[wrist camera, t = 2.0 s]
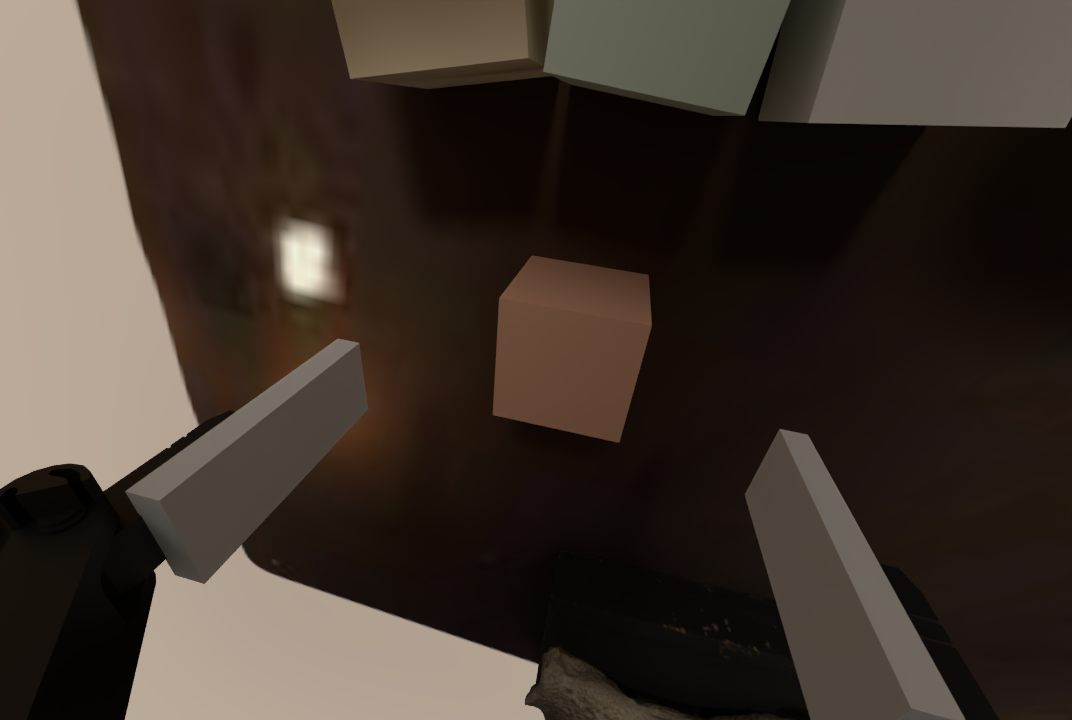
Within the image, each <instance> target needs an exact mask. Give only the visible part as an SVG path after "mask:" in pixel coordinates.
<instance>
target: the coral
mask: <svg viewBox="0 0 1072 720" xmlns="http://www.w3.org/2000/svg"><path fill="white" fill-rule="evenodd" d="M525 705H529V706H535V707H537V708H539V709H540V710H541V711H542V712H543V714H544V717H545V720H811V719H810V716H809V712H808V709H807V706H806V702H805V699H804V695H803V692H802V689H801V685H800V682H799V678H798V675H797V672H796V668H795V665H794V661H793V658H792V655H791V651H790V648H789V644H788V641H787V637H786V634H785V631H784V627H783V624H782V620H781V617H780V614H779V610H778V607H777V603H776V600H772V599H768V598H763V597H757V596H753V595H750V594H746V593H741V592H737V591H733V590H728V589H723V588H719V587H716V586H712V585H707V584H703V583H699V582H694V581H691V580H687V579H681V578H677V577H674V576H669V575H665V574H662V573H657V572H653V571H649V570H644V569H640V568H636V567H630V566H627V565H623V564H619V563H615V562H610V561H606V560H603V559H598V558H594V557H590V556H586V555H580V554H577V553H573V552H569V551H560V552H559V555H558V559H557V564H556V569H555V573H554V579H553V584H552V588H551V593H550V599H549V605H548V611H547V617H546V623H545V630H544V636H543V641H542V648H541V654H540V660H539V666H538V673H537V679H536V684H535V685H533V686H532V687H531V689H530V692H529V693H528V694H527V696H526V699H525Z"/></svg>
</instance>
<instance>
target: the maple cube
mask: <svg viewBox="0 0 1072 720" xmlns="http://www.w3.org/2000/svg"><path fill="white" fill-rule="evenodd" d="M331 1H332V5H333V9H334V13H335V17H336V21H337V25H338V29H339V34H340V38H341V42H342V46H343V50H344V54H345V58H346V62H347V66H348V71H349V75H350V79H356V80H363V81H371V82H378V83H386V84H393V85H401V86H408V87H416V88H423V89H434V88H444V87H453V86H463V85H472V84H482V83H491V82H500V81H510V80H519V79H529V78H538V77H548V76H551V75H549V74H547V73H545V72H543V69H544V63H545V57H546V51H547V44H548V38H549V32H550V26H551V20H552V13H553V7H554V1H555V0H331Z"/></svg>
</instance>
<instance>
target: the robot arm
mask: <svg viewBox="0 0 1072 720" xmlns="http://www.w3.org/2000/svg"><path fill="white" fill-rule="evenodd" d="M367 410H368V404H367V397H366V389H365V382H364V375H363V367H362V360H361V353H360V345H359V343H356V342H351V341H347V340H342V339H337V340H335V341H334V342H333V343H331V344H330V345H328V346H327V347H326V348H324V349H323V350H321V351H320V352H319V353H317V354H316V355H314V356H313V357H312V358H310V359H309V360H307V361H306V362H305V363H303V364H302V365H301V366H299V367H298V368H296V369H295V370H294V371H292V372H291V373H289V374H288V375H287V376H285V377H284V378H282V379H281V380H280V381H278V382H277V383H275V384H274V385H273V386H271V387H270V388H268V389H267V390H266V391H264V392H263V393H261V394H260V395H259V396H257V397H256V398H255V399H253V400H252V401H250V402H249V403H248V404H246V405H245V406H243V407H242V408H241V409H239V410H238V411H236V412H233V411H228V412H226V413H223V414H221V415H219V416H216V417H214V418H212V419H209V420H207V421H205V422H204V423H202V424H201V425H199V426H198V427H197V428H195V429H194V430H192V431H191V432H189V433H188V434H187V436H186V437H182V438H181V439H179V440H178V441H176V442H175V443H173V444H172V445H171V447H170V448H166V449H165V450H163V451H162V452H160V453H159V454H157V455H156V456H154V457H153V458H152V459H150V460H149V461H147V462H146V463H144V464H143V465H141V466H140V467H138V468H137V469H136V470H134V471H133V472H131V473H130V474H128V475H127V476H126V477H124V478H123V479H121V480H120V481H118V482H117V483H115V484H114V485H113V486H111V487H109V488H108V489H107V490H105V491H102V490H101V488H100V486H99V485H98V483H97V481H96V480H95V478H94V477H93V475H92V474H91V472H90V471H89V470H88V469H87V468H86V467H84V466H83V465H77V464H62V465H54V466H51V467H47V468H43V469H40V470H36V471H33V472H31V473H29V474H27V475H24V476H22V477H20V478H18V479H15V480H14V481H12V482H11V483H9V484H7V485H6V486H4V487H3V488H1V489H0V720H125V715H126V711H127V707H128V702H129V698H130V694H131V689H132V685H133V681H134V676H135V672H136V667H137V663H138V659H139V654H140V650H141V646H142V641H143V637H144V632H145V628H146V624H147V620H148V615H149V611H150V606H151V602H152V597H153V593H154V588H155V585H156V574H155V572H154V571H153V570H154V569H156V568H157V567H158V566H159V565H160V564H161V563H162V562H163V561H164V560H165V559H166V560H167V562H168V564H169V565H170V567H171V569H172V571H173V572H174V574H175V575H177V576H180V577H184V578H187V579H190V580H193V581H197V582H200V583H203V584H205V583H206V582H207V581H208V580H209V578H210V577H211V576H212V575H213V574H214V573H215V572H216V571H217V570H218V569H219V568H220V566H222V565H223V563H225V561H226V560H227V559H228V558H229V557H230V556H231V555H232V554H233V553H234V552H235V551H236V550H237V549H238V548H239V547H240V546H241V544H242V543H243V542H244V541H245V540H246V539H247V538H248V537H249V536H250V535H251V534H252V533H253V532H254V531H255V530H256V528H257V527H258V526H259V525H260V524H261V523H262V522H263V521H264V520H265V519H266V518H267V517H268V516H269V515H270V514H271V513H272V511H273V510H274V509H275V508H276V507H277V506H278V505H279V504H280V503H281V502H282V501H283V500H284V499H285V498H286V497H287V496H288V494H289V493H290V492H291V491H292V490H293V489H294V488H295V487H296V486H297V485H298V484H299V483H300V482H301V481H302V480H303V479H304V477H305V476H306V475H307V474H308V473H309V472H310V471H311V470H312V469H313V468H314V467H315V466H316V465H317V464H318V463H319V461H320V460H321V459H322V458H323V457H324V456H325V455H326V454H327V453H328V452H329V451H330V450H331V449H332V448H333V447H334V446H335V444H336V443H337V442H338V441H339V440H340V439H341V438H342V437H343V436H344V435H345V434H346V433H347V432H348V431H349V430H350V429H351V427H352V426H353V425H354V424H355V423H356V422H357V421H358V420H359V419H360V418H361V417H362V416H363V415H364V414H365V413H366V411H367ZM745 498H746V501H747V504H748V508H749V511H750V515H751V518H752V522H753V525H754V528H755V532H756V535H757V539H758V542H759V545H760V549H761V552H762V556H763V559H764V562H765V566H766V569H767V573H768V576H769V579H770V583H771V586H772V590H773V593H774V597H775V600H776V603H777V607H778V610H779V614H780V617H781V620H782V624H783V627H784V631H785V634H786V637H787V641H788V644H789V648H790V651H791V655H792V658H793V661H794V665H795V668H796V672H797V675H798V678H799V682H800V685H801V689H802V692H803V695H804V699H805V702H806V706H807V709H808V712H809V716H810V719H811V720H999V718H998V717H997V715H996V713H995V712H994V710H993V708H992V707H991V705H990V703H989V702H988V700H987V699H986V697H985V695H984V694H983V692H982V690H981V689H980V687H979V685H978V684H977V682H976V681H975V679H974V677H973V676H972V674H971V672H970V671H969V669H968V667H967V666H966V664H965V662H964V661H963V659H962V658H961V656H960V654H959V653H958V651H957V649H955V648H953V647H952V641H951V640H950V638H949V636H948V635H947V633H946V631H945V630H944V628H943V626H942V625H939V624H938V618H937V617H936V615H935V613H934V612H933V610H932V608H931V607H930V605H929V604H928V602H927V600H926V599H925V597H924V595H923V594H922V592H921V591H920V590H919V589H918V588H917V587H916V586H915V585H914V584H913V583H912V582H911V581H910V580H909V579H908V578H907V577H906V576H905V575H904V574H903V573H902V572H901V571H900V569H899V568H896V567H892V566H887V565H883V564H879V563H878V561H877V559H876V557H875V555H874V553H873V552H872V550H871V548H870V546H869V544H868V543H867V541H866V539H865V537H864V535H863V534H862V532H861V530H860V528H859V526H858V525H857V523H856V521H855V519H854V517H853V516H852V514H851V512H850V510H849V508H848V507H847V505H846V503H845V501H844V499H843V497H842V496H841V494H840V492H839V490H838V488H837V487H836V485H835V483H834V481H833V479H832V478H831V476H830V474H829V472H828V470H827V469H826V467H825V465H824V463H823V461H822V460H821V458H820V456H819V454H818V452H817V451H816V449H815V447H814V445H813V443H812V441H811V440H810V438H809V436H808V435H806V434H802V433H797V432H792V431H787V430H782V429H779V431H778V433H777V435H776V437H775V439H774V440H773V442H772V444H771V446H770V448H769V450H768V452H767V454H766V455H765V457H764V459H763V461H762V463H761V465H760V467H759V469H758V471H757V472H756V474H755V476H754V478H753V480H752V482H751V484H750V486H749V487H748V489H747V491H746V493H745Z"/></svg>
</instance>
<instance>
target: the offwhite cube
mask: <svg viewBox="0 0 1072 720" xmlns="http://www.w3.org/2000/svg"><path fill="white" fill-rule="evenodd" d="M1071 117H1072V0H791V1H790V3H789V6H788V8H787V11H786V13H785V16H784V19H783V23H782V27H781V31H780V35H779V39H778V43H777V47H776V51H775V55H774V59H773V63H772V67H771V71H770V75H769V78H768V82H767V86H766V90H765V94H764V98H763V102H762V106H761V110H760V114H759V118H758V121H775V122H798V123H838V124H889V125H941V126H992V127H1044V128H1066V126H1067V124H1068V122H1069V121H1070V119H1071Z"/></svg>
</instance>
